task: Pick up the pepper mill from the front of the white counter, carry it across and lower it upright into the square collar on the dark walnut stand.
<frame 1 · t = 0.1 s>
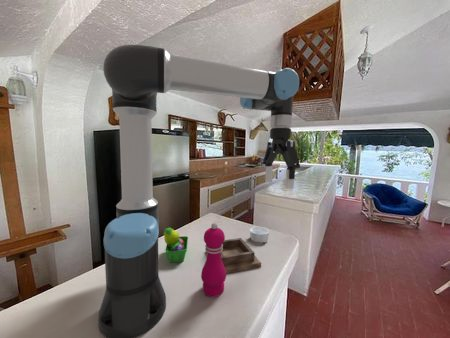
hand: (278, 185, 75), 28 cm above the kitchen island, tool pointing down, fingers open, 13 cm apart
pepper mill: (213, 289, 58), on the kitchen island
ramekin: (259, 239, 92), on the kitchen island
fruit basket: (175, 256, 76), on the kitchen island
walnut stand: (231, 258, 75), on the kitchen island
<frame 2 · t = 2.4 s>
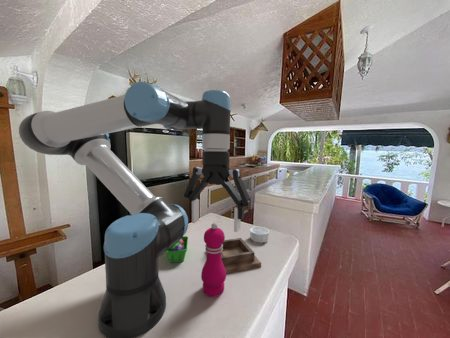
hand: (215, 225, 56), 19 cm above the kitchen island, tool pointing down, fingers open, 13 cm apart
nothing on the kitchen island moved.
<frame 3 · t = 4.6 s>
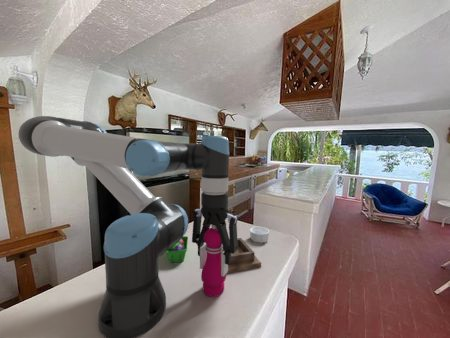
hand: (213, 269, 57), 6 cm above the kitchen island, tool pointing down, fingers closed on pepper mill, 6 cm apart
pepper mill: (213, 289, 58), on the kitchen island, touching gripper
everything else where it was.
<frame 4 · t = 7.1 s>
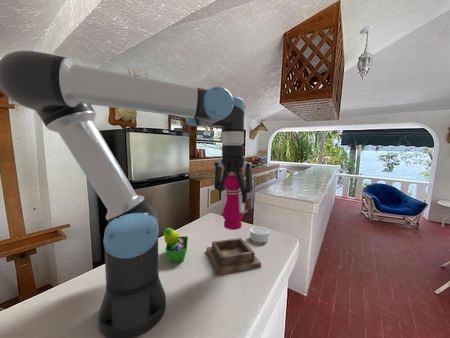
hand: (232, 210, 70), 20 cm above the kitchen island, tool pointing down, fingers closed on pepper mill, 6 cm apart
pepper mill: (232, 226, 70), point 13 cm above the kitchen island, touching gripper
everything else where it was.
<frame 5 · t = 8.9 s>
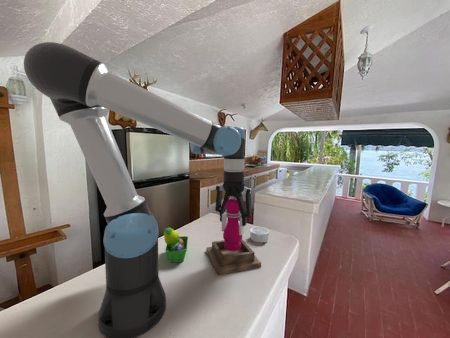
hand: (232, 231, 74), 10 cm above the kitchen island, tool pointing down, fingers closed on pepper mill, 6 cm apart
pepper mill: (232, 247, 74), point 4 cm above the kitchen island, touching gripper
everything else where it was.
when the fingers open (9 cm above the kitchen island, at t = 10.0 s): pepper mill drops 1 cm, resting on walnut stand.
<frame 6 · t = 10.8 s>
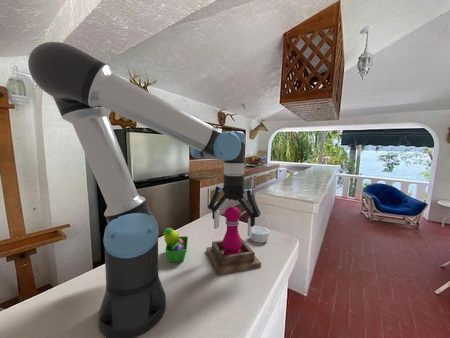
hand: (232, 231, 74), 11 cm above the kitchen island, tool pointing down, fingers open, 13 cm apart
pepper mill: (231, 255, 74), point 1 cm above the kitchen island, touching walnut stand
everything else where it was.
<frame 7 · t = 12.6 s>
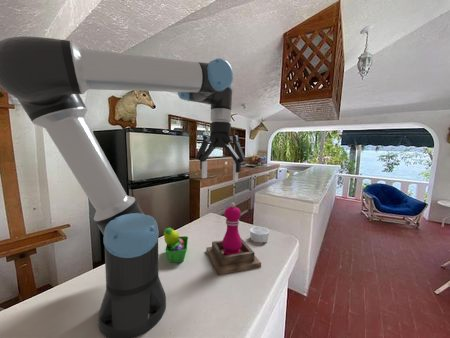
hand: (219, 179, 74), 30 cm above the kitchen island, tool pointing down, fingers open, 13 cm apart
nothing on the kitchen island moved.
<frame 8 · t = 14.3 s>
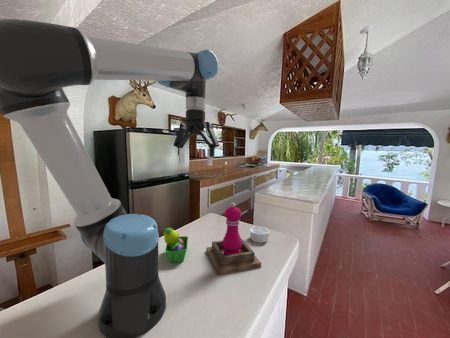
hand: (195, 164, 79), 35 cm above the kitchen island, tool pointing down, fingers open, 13 cm apart
nothing on the kitchen island moved.
at the end: pepper mill 0.1 cm off-centre on the walnut stand, point 1.3 cm above the walnut stand's base; pepper mill tilted 0°; the gripper is holding nothing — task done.
